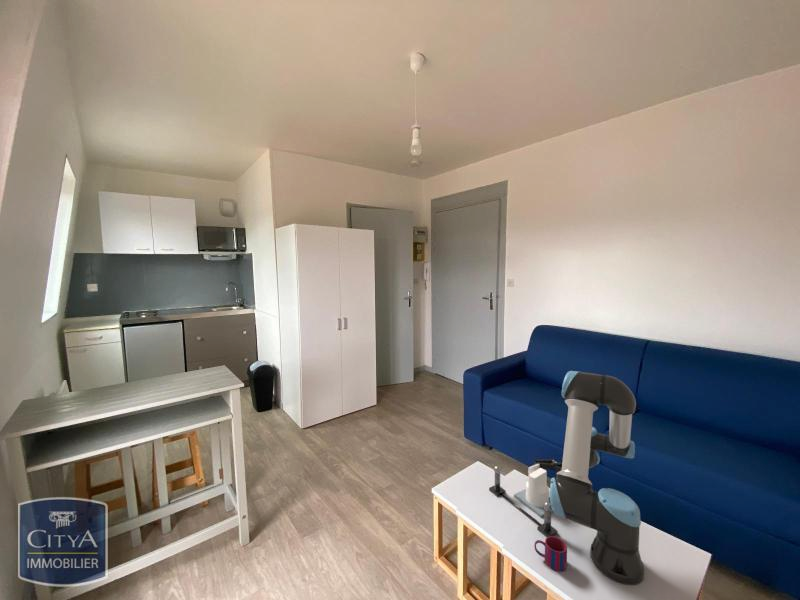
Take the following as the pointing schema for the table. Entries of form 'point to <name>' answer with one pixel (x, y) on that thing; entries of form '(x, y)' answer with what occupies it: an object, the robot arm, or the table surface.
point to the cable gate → (543, 528)
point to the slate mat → (522, 498)
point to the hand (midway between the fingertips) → (541, 479)
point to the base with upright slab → (537, 488)
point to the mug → (554, 553)
